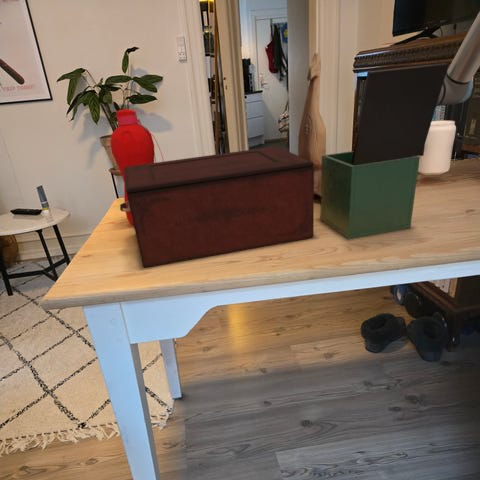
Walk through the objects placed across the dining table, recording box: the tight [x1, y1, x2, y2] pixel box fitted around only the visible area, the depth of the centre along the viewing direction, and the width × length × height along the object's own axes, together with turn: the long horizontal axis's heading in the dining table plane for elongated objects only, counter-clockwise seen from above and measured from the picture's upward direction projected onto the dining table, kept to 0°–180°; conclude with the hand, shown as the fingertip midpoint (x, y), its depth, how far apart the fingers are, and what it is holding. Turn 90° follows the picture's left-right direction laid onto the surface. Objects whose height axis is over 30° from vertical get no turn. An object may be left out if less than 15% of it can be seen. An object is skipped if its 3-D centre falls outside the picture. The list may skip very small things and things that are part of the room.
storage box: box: [119, 146, 315, 269], centre depth 85 cm, size 39×23×15 cm, turn 104°
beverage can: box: [418, 120, 457, 176], centre depth 105 cm, size 8×8×12 cm
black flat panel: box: [351, 62, 450, 165], centre depth 69 cm, size 15×14×1 cm
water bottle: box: [109, 108, 165, 226], centre depth 96 cm, size 9×11×25 cm
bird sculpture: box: [297, 52, 327, 198], centre depth 100 cm, size 11×12×32 cm
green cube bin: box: [320, 150, 420, 240], centre depth 84 cm, size 14×14×14 cm
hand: (441, 148), depth 101 cm, fingers closed on beverage can, 8 cm apart
